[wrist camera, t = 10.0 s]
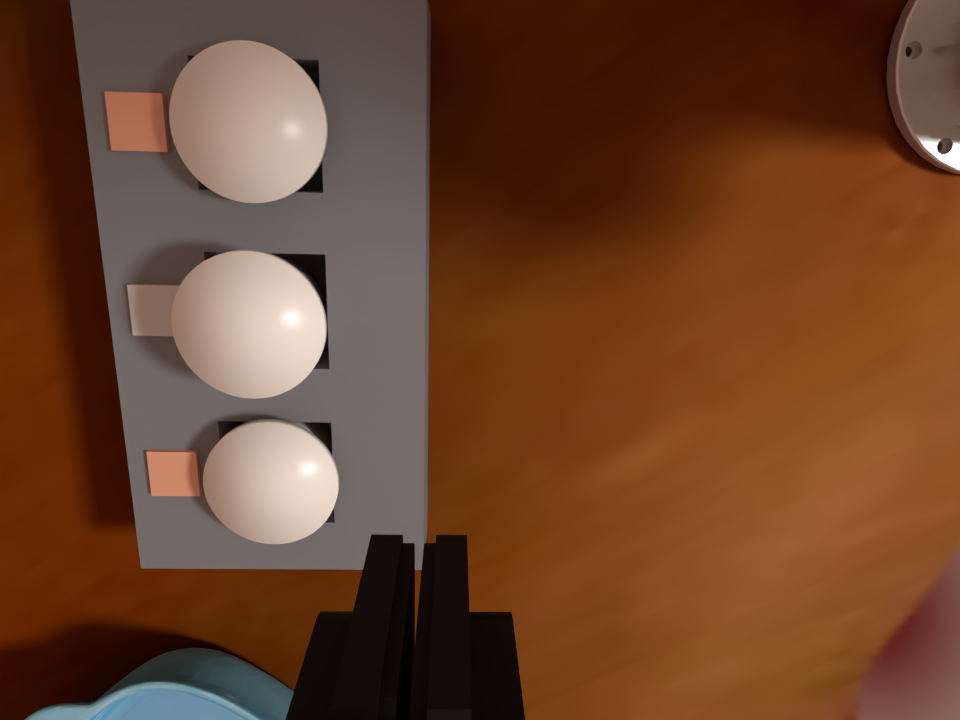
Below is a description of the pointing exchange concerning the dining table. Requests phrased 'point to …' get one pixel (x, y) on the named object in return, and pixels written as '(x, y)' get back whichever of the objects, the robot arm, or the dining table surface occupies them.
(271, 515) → the button
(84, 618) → the dining table surface
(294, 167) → the button
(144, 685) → the casserole dish
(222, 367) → the button middle
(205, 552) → the button board
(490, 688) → the robot arm
